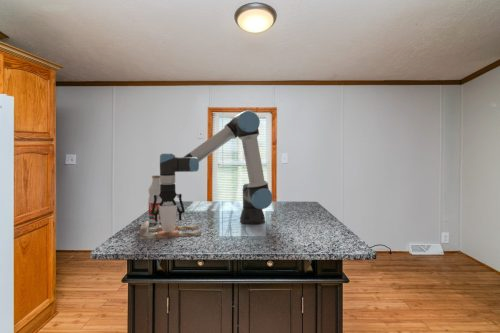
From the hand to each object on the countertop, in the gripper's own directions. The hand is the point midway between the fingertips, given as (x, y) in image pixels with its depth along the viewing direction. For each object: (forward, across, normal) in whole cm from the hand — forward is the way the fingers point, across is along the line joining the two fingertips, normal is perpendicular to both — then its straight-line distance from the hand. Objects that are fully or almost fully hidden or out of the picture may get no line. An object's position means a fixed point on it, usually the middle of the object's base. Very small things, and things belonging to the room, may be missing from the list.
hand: (168, 227), depth 152 cm
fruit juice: (+3, +7, -29) cm, 30 cm away
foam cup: (+2, 0, 0) cm, 2 cm away
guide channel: (+3, -1, 0) cm, 4 cm away
